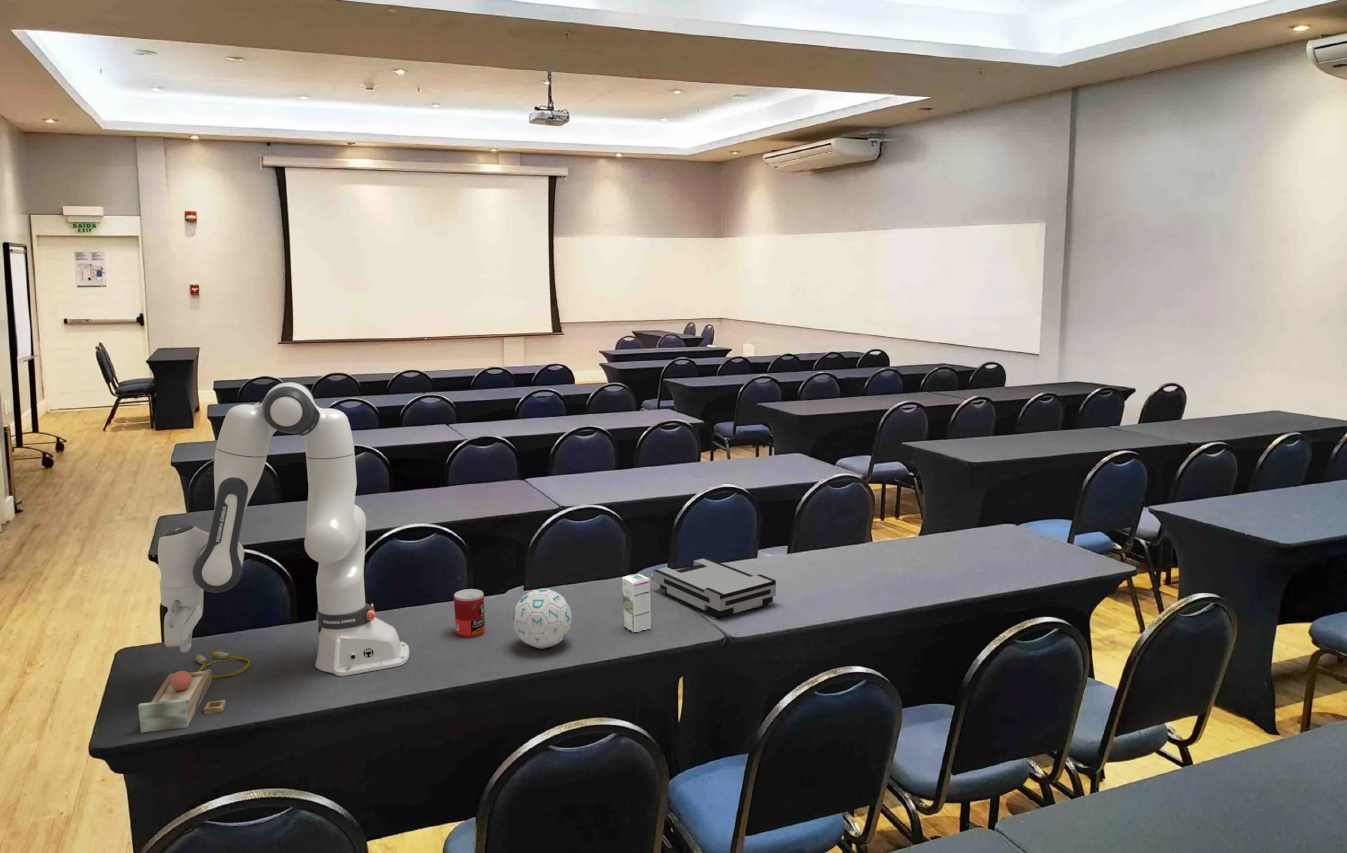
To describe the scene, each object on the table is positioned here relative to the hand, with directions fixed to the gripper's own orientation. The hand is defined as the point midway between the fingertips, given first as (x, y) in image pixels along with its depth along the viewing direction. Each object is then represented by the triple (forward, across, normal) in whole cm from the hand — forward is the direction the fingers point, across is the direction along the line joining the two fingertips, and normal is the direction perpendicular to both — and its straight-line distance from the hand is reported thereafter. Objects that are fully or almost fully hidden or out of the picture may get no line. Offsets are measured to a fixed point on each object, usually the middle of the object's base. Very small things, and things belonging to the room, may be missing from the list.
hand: (185, 649), depth 222 cm
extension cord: (+9, +8, -6) cm, 13 cm away
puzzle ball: (+6, 0, -84) cm, 85 cm away
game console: (+5, +22, -137) cm, 139 cm away
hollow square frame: (+8, -17, -10) cm, 21 cm away
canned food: (+6, +14, -66) cm, 68 cm away
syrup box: (+5, +5, -110) cm, 111 cm away
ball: (+4, -9, -1) cm, 10 cm away
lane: (+8, -12, -1) cm, 14 cm away
